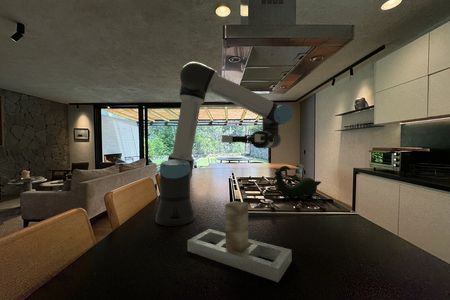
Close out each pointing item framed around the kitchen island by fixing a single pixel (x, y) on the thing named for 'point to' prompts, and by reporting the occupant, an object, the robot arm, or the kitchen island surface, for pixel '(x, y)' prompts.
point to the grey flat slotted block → (243, 254)
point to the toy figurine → (303, 188)
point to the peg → (236, 226)
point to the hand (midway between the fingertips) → (238, 138)
